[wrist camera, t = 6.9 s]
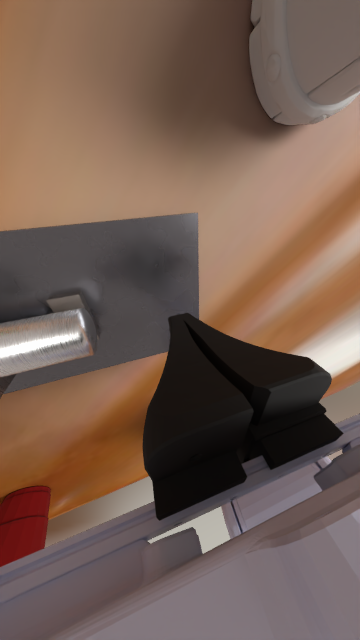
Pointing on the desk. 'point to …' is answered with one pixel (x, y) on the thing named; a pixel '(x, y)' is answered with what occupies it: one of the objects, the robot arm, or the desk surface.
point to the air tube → (46, 340)
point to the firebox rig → (102, 285)
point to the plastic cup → (23, 523)
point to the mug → (305, 57)
